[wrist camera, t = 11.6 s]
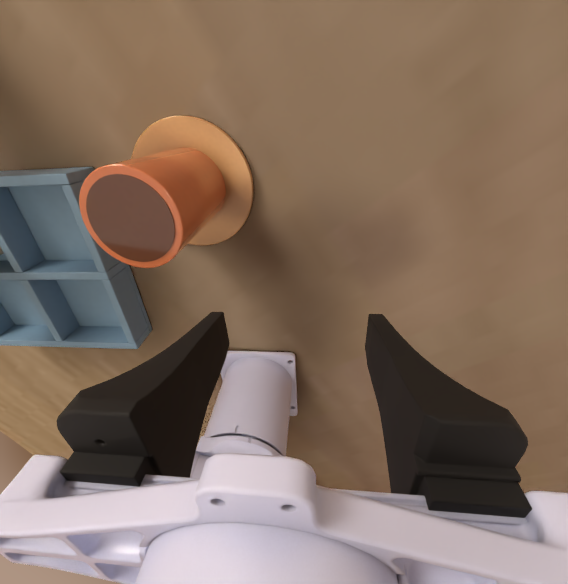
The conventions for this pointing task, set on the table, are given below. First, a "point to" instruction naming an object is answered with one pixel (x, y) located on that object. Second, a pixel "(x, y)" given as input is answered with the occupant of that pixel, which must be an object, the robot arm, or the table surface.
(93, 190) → the tumbler
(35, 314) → the rack
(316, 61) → the table surface
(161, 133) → the coaster
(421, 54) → the table surface
